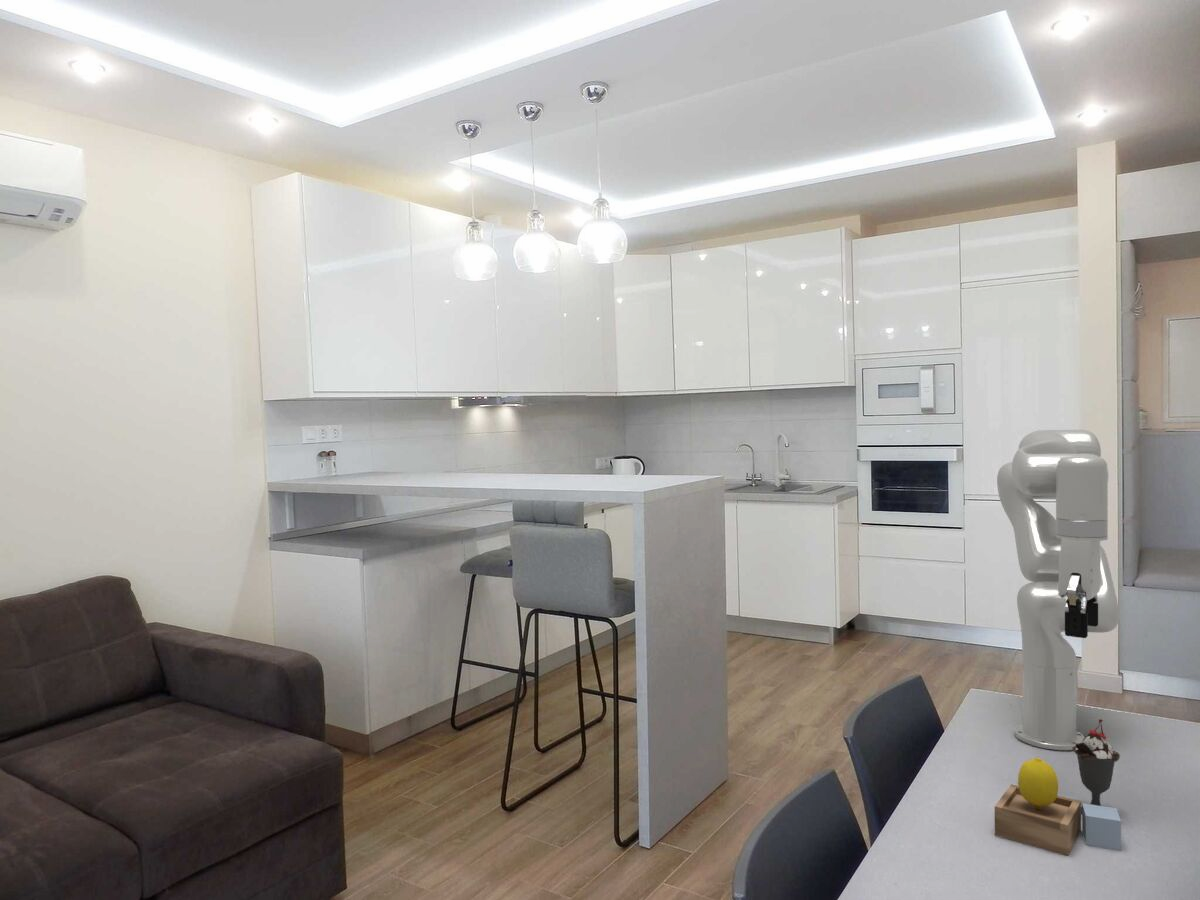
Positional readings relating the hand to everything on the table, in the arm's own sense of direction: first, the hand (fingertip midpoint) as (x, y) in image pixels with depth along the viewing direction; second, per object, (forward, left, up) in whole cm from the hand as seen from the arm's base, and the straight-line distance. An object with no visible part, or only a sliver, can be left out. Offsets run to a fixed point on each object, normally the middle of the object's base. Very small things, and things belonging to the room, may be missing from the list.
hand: (1081, 630), depth 139 cm
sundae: (+6, +3, -28) cm, 29 cm away
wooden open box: (+18, -3, -28) cm, 34 cm away
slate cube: (+15, +5, -28) cm, 33 cm away
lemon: (+18, -3, -25) cm, 31 cm away
